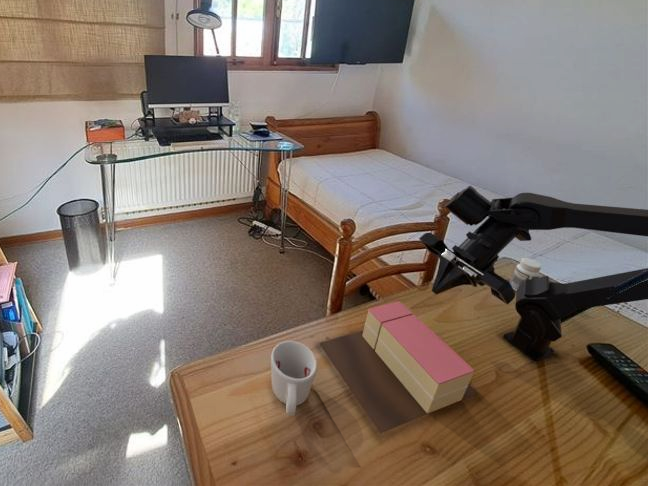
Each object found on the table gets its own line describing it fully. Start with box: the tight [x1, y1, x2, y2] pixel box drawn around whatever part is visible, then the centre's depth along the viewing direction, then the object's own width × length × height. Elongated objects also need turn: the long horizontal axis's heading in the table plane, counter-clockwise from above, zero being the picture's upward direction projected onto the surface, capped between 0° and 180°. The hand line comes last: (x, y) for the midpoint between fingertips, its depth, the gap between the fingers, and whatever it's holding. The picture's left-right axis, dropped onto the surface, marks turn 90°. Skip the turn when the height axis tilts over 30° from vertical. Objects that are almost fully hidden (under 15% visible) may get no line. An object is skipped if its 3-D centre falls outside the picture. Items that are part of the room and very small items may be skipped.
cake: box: [375, 314, 475, 415], centre depth 63 cm, size 8×13×8 cm, turn 18°
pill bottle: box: [509, 257, 542, 292], centre depth 88 cm, size 5×5×8 cm
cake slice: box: [362, 300, 414, 349], centre depth 71 cm, size 8×4×8 cm, turn 109°
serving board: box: [318, 329, 478, 434], centre depth 66 cm, size 22×18×1 cm
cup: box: [270, 340, 318, 417], centre depth 59 cm, size 11×8×8 cm
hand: (433, 292), depth 72 cm, fingers closed
